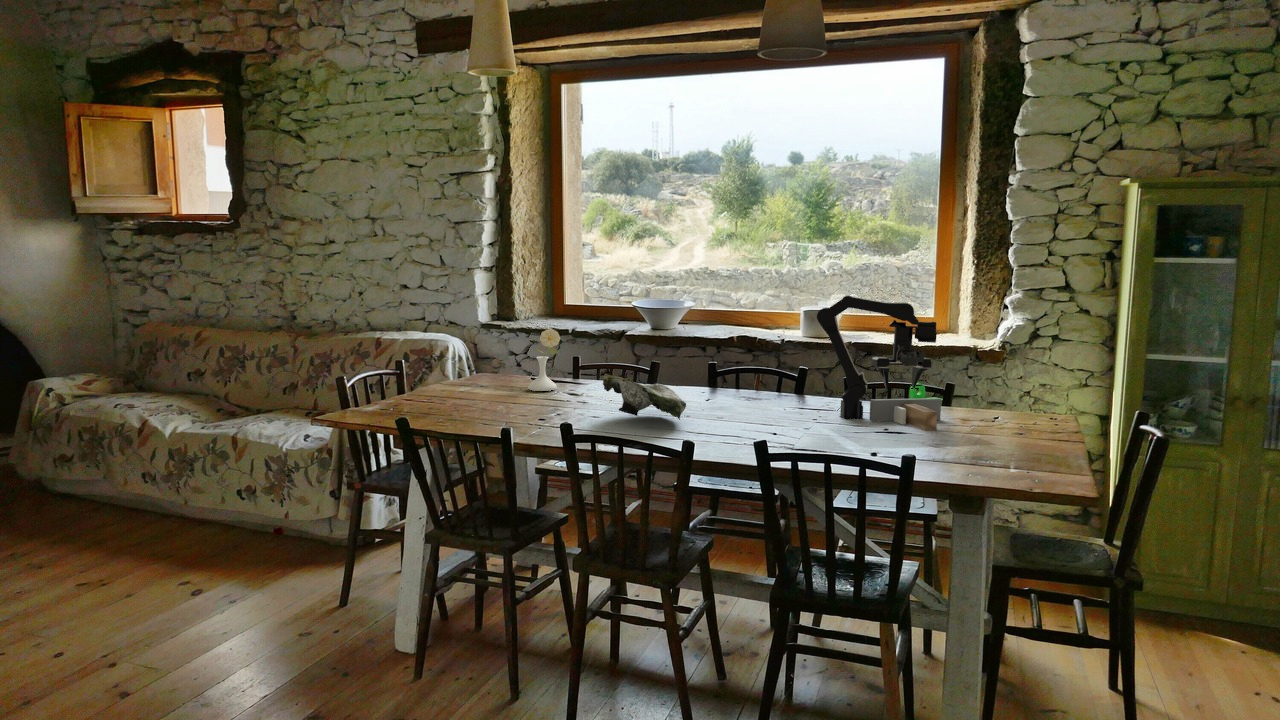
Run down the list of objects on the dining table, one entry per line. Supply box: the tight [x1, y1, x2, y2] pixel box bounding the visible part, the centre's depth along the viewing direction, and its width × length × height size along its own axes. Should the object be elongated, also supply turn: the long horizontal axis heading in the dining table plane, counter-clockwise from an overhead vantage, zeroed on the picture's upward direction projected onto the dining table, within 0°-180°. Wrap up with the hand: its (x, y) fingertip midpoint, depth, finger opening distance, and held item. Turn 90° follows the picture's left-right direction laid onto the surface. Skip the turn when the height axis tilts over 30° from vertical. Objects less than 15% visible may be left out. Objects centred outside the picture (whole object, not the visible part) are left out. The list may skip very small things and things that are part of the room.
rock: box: [602, 373, 687, 421], centre depth 286 cm, size 29×30×15 cm
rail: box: [902, 404, 938, 431], centre depth 278 cm, size 4×16×6 cm, turn 8°
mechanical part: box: [908, 382, 943, 402], centre depth 320 cm, size 12×6×8 cm, turn 113°
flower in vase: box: [527, 328, 561, 392], centre depth 342 cm, size 13×11×25 cm
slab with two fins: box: [869, 397, 942, 425], centre depth 284 cm, size 24×8×7 cm, turn 99°
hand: (900, 388), depth 286 cm, fingers open, 9 cm apart
